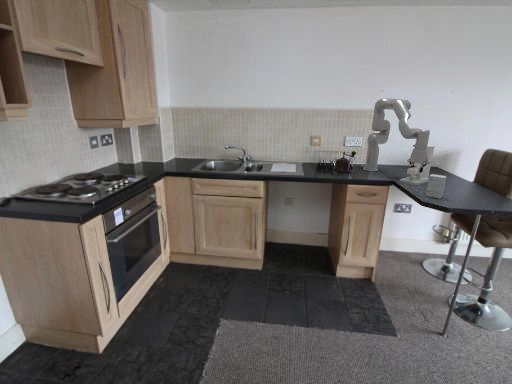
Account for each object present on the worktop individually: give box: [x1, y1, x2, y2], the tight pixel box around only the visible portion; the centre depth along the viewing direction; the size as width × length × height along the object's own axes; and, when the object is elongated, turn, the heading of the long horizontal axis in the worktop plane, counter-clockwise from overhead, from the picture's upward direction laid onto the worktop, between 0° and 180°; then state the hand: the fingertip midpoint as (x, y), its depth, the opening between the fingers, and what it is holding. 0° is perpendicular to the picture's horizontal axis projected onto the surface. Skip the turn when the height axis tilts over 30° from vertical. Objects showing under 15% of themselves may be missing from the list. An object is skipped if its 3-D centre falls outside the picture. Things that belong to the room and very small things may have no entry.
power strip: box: [406, 165, 426, 176], centre depth 206 cm, size 5×20×4 cm, turn 130°
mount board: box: [399, 173, 429, 186], centre depth 208 cm, size 12×22×8 cm, turn 130°
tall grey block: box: [419, 144, 436, 178], centre depth 218 cm, size 7×7×25 cm
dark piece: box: [334, 150, 357, 173], centre depth 236 cm, size 16×11×18 cm
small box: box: [425, 173, 448, 199], centre depth 172 cm, size 8×6×13 cm
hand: (416, 171), depth 207 cm, fingers closed on power strip, 5 cm apart
